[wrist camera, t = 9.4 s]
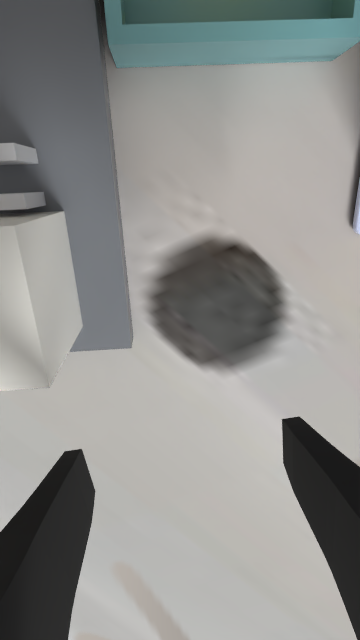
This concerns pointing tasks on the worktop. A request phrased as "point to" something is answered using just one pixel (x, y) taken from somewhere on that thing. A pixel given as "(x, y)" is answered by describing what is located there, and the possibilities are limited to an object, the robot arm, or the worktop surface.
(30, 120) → the board
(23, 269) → the block
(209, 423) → the worktop surface
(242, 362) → the worktop surface
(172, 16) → the tray
